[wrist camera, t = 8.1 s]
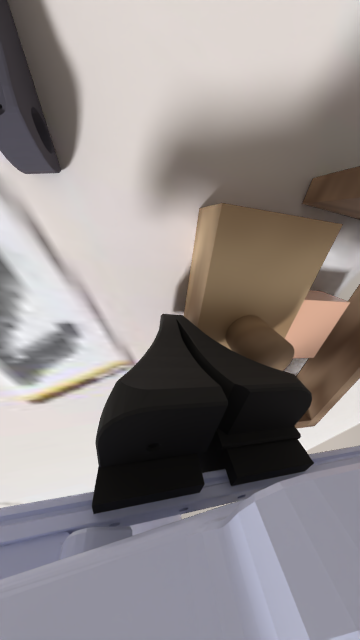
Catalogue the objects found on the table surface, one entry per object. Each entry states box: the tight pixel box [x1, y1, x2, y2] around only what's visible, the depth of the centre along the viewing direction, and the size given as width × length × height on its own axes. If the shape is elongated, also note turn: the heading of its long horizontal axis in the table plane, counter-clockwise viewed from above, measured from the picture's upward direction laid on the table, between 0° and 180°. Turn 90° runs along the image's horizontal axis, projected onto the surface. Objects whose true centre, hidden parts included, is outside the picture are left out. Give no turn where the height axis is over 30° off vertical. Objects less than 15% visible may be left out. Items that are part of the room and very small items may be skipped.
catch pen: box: [295, 166, 360, 428], centre depth 14 cm, size 19×10×4 cm, turn 170°
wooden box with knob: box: [184, 203, 343, 371], centre depth 10 cm, size 12×6×6 cm, turn 173°
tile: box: [285, 290, 350, 358], centre depth 13 cm, size 5×5×2 cm
